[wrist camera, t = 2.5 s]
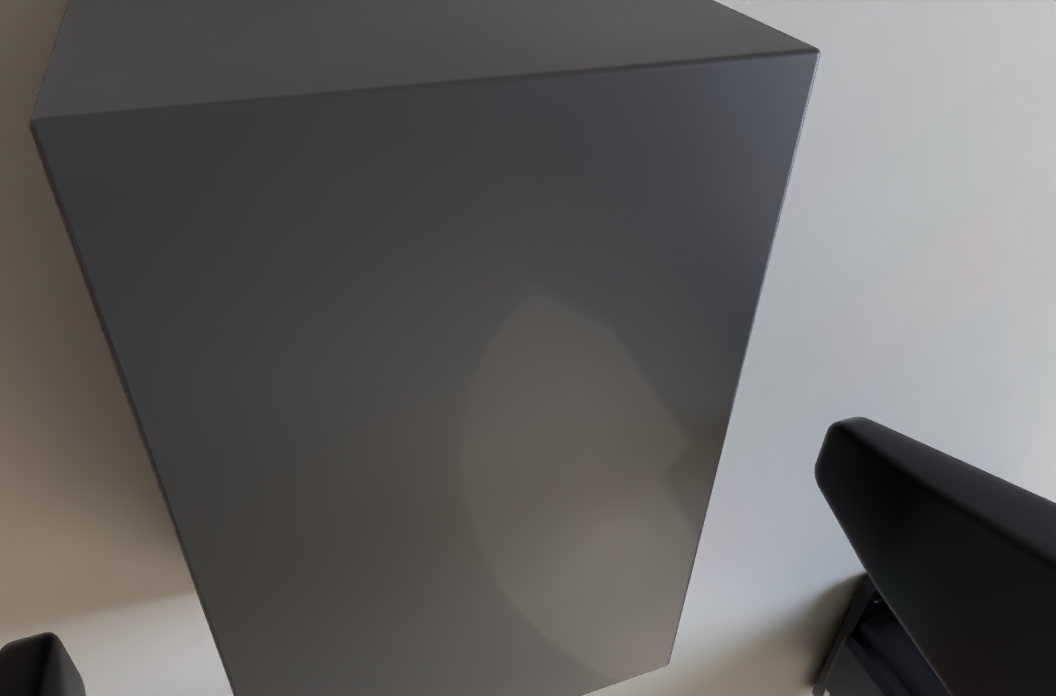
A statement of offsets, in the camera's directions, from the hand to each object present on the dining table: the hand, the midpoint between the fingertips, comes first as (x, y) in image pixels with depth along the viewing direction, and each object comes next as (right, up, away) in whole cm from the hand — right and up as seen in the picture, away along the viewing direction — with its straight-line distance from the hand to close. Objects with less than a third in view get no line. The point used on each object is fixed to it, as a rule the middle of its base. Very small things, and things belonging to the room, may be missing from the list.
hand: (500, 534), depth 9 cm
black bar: (-2, +2, +3) cm, 4 cm away
